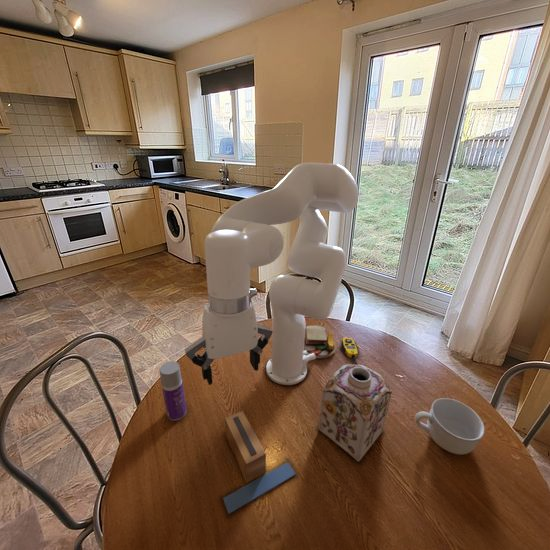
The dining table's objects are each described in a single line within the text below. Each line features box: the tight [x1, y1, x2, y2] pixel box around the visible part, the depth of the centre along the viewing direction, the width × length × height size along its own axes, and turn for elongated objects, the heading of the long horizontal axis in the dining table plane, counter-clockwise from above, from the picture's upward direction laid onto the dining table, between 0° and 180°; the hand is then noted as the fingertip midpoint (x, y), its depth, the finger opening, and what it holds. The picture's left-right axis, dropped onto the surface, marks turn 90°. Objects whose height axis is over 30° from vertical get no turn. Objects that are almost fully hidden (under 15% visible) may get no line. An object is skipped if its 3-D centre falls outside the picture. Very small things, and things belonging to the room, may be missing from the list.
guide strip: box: [222, 461, 297, 515], centre depth 59 cm, size 15×3×1 cm, turn 119°
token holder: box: [224, 410, 267, 483], centre depth 64 cm, size 12×4×6 cm, turn 29°
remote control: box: [341, 337, 359, 365], centre depth 97 cm, size 5×2×15 cm
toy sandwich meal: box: [304, 325, 337, 359], centre depth 100 cm, size 12×14×5 cm
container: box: [159, 360, 187, 421], centre depth 72 cm, size 5×5×15 cm
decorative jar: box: [318, 363, 393, 462], centre depth 68 cm, size 12×12×18 cm
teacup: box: [414, 397, 486, 455], centre depth 69 cm, size 14×11×8 cm
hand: (232, 372), depth 60 cm, fingers open, 9 cm apart
